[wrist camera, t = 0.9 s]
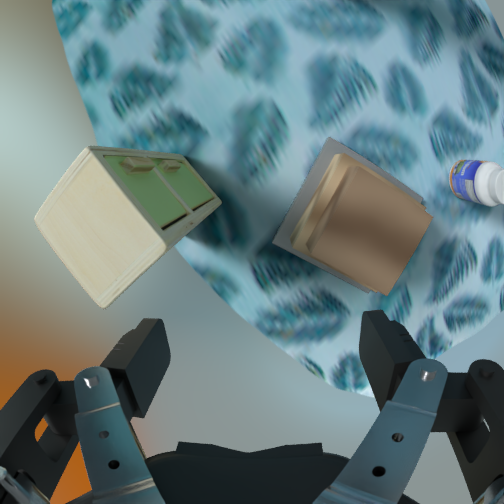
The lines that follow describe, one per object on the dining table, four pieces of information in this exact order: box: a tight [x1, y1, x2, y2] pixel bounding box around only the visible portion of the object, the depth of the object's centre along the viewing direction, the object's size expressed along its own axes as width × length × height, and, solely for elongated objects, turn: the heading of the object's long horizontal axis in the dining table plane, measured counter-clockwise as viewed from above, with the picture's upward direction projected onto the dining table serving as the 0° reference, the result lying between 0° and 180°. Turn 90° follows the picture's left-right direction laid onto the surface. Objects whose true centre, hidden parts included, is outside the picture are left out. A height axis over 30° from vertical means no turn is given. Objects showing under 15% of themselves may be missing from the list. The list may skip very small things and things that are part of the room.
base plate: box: [272, 137, 423, 293], centre depth 35 cm, size 14×14×1 cm
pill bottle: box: [449, 160, 504, 207], centre depth 28 cm, size 5×5×10 cm
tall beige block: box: [34, 146, 222, 309], centre depth 26 cm, size 8×7×21 cm
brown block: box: [290, 153, 433, 296], centre depth 30 cm, size 11×11×8 cm
